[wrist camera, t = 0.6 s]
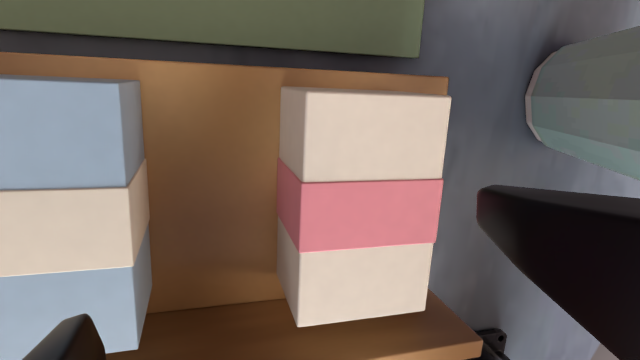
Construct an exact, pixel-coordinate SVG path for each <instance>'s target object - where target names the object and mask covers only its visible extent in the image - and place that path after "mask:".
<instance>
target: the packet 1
mask: <svg viewBox="0 0 640 360" xmlns="http://www.w3.org/2000/svg"><path fill="white" fill-rule="evenodd" d="M149 219H150V213H149V197H148V180H147V163H146V159H145V158H144V141H143V125H142V109H141V92H140V81H139V80H125V79H102V78H78V77H54V76H31V75H7V74H0V360H22V359H23V358H24V357H25V356H26V355H27V354H28V353H29V352H30V351H31V350H32V349H33V348H34V347H35V346H36V345H37V344H38V343H40V342H41V341H42V340H43V339H44V338H45V337H46V336H47V335H48V334H49V333H50V332H51V331H52V330H53V329H54V328H55V327H56V326H57V325H58V324H59V323H60V322H61V321H62V320H64V319H67V318H70V317H73V316H76V315H80V314H83V313H86V314H88V315H89V316H90V317H91V318H92V320H93V322H94V325H95V327H96V329H97V331H98V333H99V336H100V338H101V340H102V342H103V345H104V348H105V352H106V353H114V352H121V351H129V350H136V349H138V347H139V343H140V338H141V334H142V329H143V325H144V320H145V316H146V311H147V307H148V302H149V298H150V293H151V289H152V272H151V256H150V240H149V223H148V222H149Z"/></svg>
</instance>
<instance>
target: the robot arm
mask: <svg viewBox="0 0 640 360" xmlns="http://www.w3.org/2000/svg"><path fill="white" fill-rule="evenodd" d="M476 218H477V223H478V225H479V227H480V228H481V229H482V230H483V231H484V232H485V233H486V235H487V236H488V237H489V238H490V239H491V240H492V241H493V242H494V243H495V244H496V245H497V246H498V247H499V249H500V250H501V251H502V252H503V253H504V254H505V255H506V256H507V257H508V258H509V259H510V260H511V261H512V263H513V264H514V265H515V266H516V267H517V268H518V269H519V270H520V271H521V272H522V273H523V274H525V275H526V276H527V277H528V278H529V279H530V280H531V281H532V282H533V283H534V284H536V285H537V286H538V287H539V288H540V289H541V290H542V291H543V292H545V293H546V294H547V295H548V296H549V297H550V298H551V299H552V300H553V301H555V302H556V303H557V304H558V305H559V306H560V307H561V308H562V309H564V310H565V311H566V312H567V313H568V314H569V315H570V316H571V317H572V318H574V319H575V320H576V321H577V322H578V323H579V324H580V325H581V326H583V327H584V328H585V329H586V330H587V331H588V332H589V333H590V334H591V335H593V336H594V337H595V338H596V339H597V340H598V341H599V342H600V343H602V344H603V345H604V346H605V347H606V348H607V349H608V350H609V351H610V352H612V353H613V354H614V355H615V356H616V357H617V358H618V359H619V360H640V199H639V198H629V197H618V196H608V195H597V194H587V193H577V192H566V191H556V190H545V189H535V188H525V187H514V186H504V185H491V186H487V187H484V188H481V189H480V190H479V191H478V193H477V215H476ZM476 334H477V335H478V336H479V337H480V338H482V340H483V345H482V351H481V356H480V357H476V358H470V359H464V360H510V359H509V358H508V357H507V356H506V355H505V354H504V349H505V343H506V338H507V335H506V333H505V332H503V331H502V330H501V329H495V330H489V331H482V332H476ZM22 360H106V352H105V348H104V345H103V342H102V340H101V338H100V336H99V333H98V331H97V329H96V327H95V325H94V322H93V320H92V318H91V317H90V316H89V315H88V314H86V313H83V314H80V315H76V316H73V317H70V318H67V319H64V320H62V321H61V322H60V323H59V324H58V325H57V326H56V327H55V328H54V329H53V330H52V331H51V332H50V333H49V334H48V335H47V336H46V337H45V338H44V339H43V340H42V341H41V342H40V343H38V344H37V345H36V346H35V347H34V348H33V349H32V350H31V351H30V352H29V353H28V354H27V355H26V356H25V357H24V358H23V359H22Z"/></svg>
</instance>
